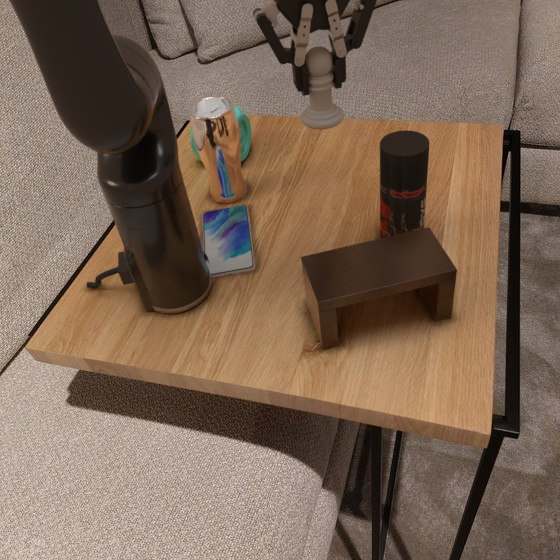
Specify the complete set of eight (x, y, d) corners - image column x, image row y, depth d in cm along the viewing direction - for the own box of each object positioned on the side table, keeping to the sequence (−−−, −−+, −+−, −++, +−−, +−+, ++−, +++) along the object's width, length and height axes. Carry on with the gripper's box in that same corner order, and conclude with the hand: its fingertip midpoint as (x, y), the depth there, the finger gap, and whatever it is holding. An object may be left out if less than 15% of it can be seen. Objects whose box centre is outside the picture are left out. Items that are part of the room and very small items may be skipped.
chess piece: (294, 128, 71) (288, 56, 65) (309, 107, 75) (304, 36, 69) (336, 133, 70) (334, 59, 63) (349, 111, 73) (348, 39, 67)
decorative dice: (213, 142, 107) (204, 101, 101) (254, 145, 104) (247, 104, 99) (196, 167, 101) (185, 125, 96) (238, 170, 99) (230, 128, 93)
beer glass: (202, 204, 93) (180, 119, 83) (214, 179, 98) (194, 95, 88) (245, 205, 92) (228, 118, 81) (254, 179, 96) (239, 94, 86)
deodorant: (422, 251, 79) (428, 156, 69) (378, 250, 81) (377, 156, 70) (423, 224, 83) (430, 130, 73) (381, 222, 85) (381, 130, 74)
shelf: (322, 349, 69) (317, 302, 64) (306, 302, 75) (300, 256, 69) (451, 318, 70) (457, 269, 65) (425, 274, 76) (429, 226, 71)
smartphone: (203, 277, 80) (201, 211, 91) (205, 281, 81) (203, 216, 92) (255, 267, 80) (247, 203, 91) (256, 272, 81) (248, 207, 92)
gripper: (365, -96, 61) (366, 65, 73) (233, -72, 60) (256, 88, 72) (391, -81, 55) (388, 90, 67) (246, -53, 54) (269, 116, 66)
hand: (320, 88), depth 69 cm, fingers closed on chess piece, 3 cm apart
